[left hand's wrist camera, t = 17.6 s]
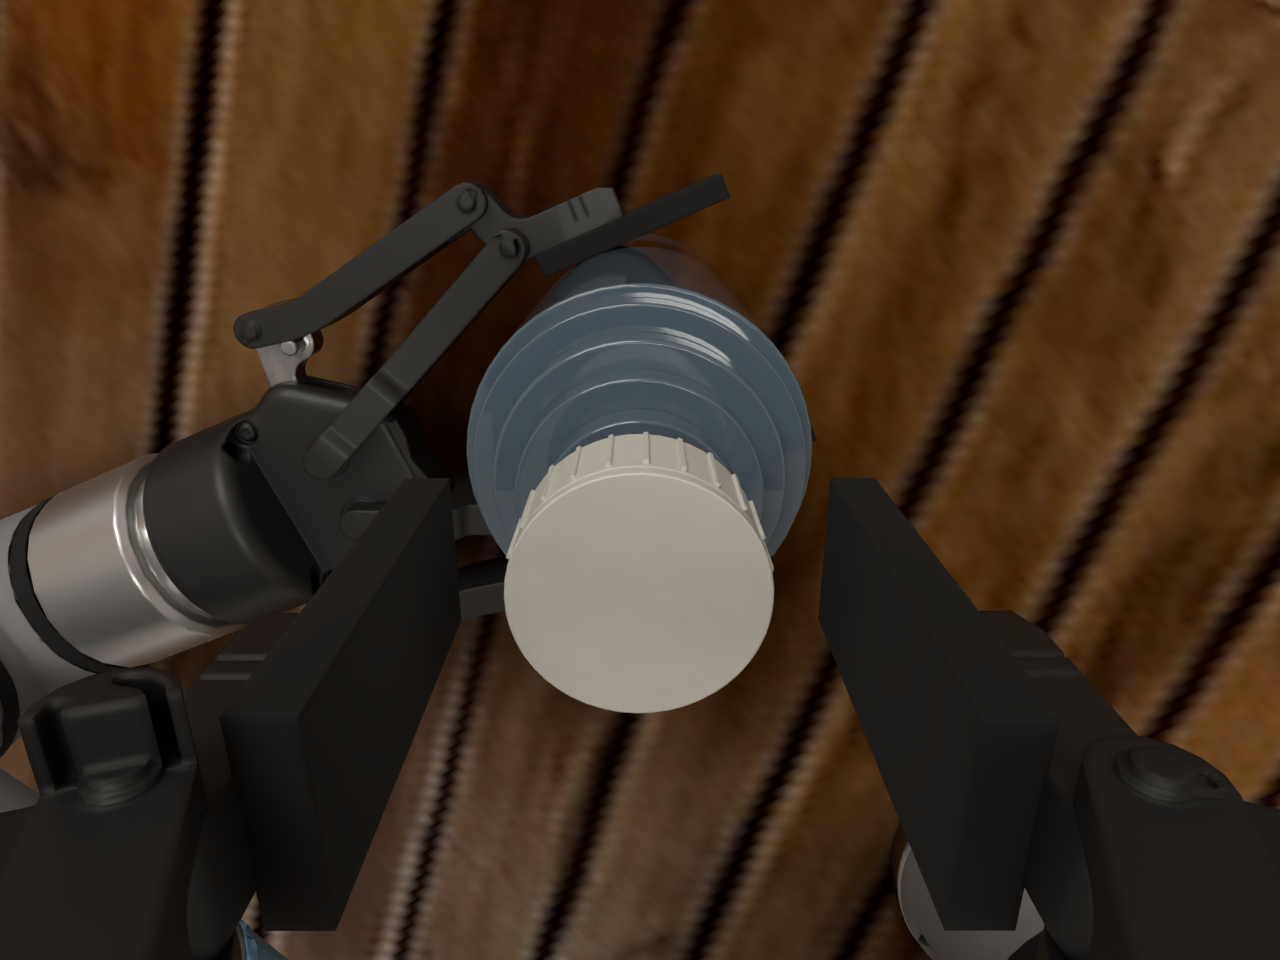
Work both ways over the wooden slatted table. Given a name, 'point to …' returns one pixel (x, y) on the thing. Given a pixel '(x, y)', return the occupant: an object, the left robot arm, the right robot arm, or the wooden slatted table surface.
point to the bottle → (639, 383)
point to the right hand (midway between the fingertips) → (765, 308)
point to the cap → (639, 575)
